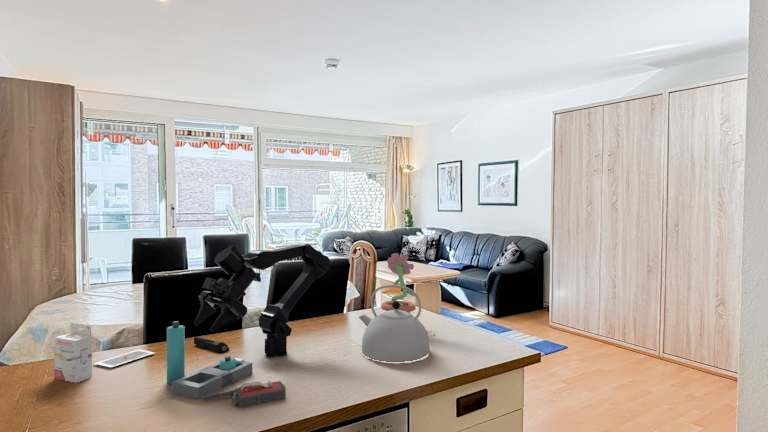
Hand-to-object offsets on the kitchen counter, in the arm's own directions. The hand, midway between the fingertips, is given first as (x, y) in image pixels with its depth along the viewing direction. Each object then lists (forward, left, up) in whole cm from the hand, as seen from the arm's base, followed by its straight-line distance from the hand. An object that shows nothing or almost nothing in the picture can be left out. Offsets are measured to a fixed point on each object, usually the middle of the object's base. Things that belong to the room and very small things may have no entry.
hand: (202, 327), depth 128 cm
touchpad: (+24, -19, -14) cm, 34 cm away
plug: (+6, +4, -13) cm, 15 cm away
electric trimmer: (0, -25, -14) cm, 28 cm away
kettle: (-58, -6, -14) cm, 60 cm away
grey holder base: (-4, +7, -13) cm, 16 cm away
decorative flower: (-70, -35, -14) cm, 79 cm away
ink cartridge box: (+34, -6, -14) cm, 37 cm away
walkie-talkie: (-12, +20, -14) cm, 28 cm away
